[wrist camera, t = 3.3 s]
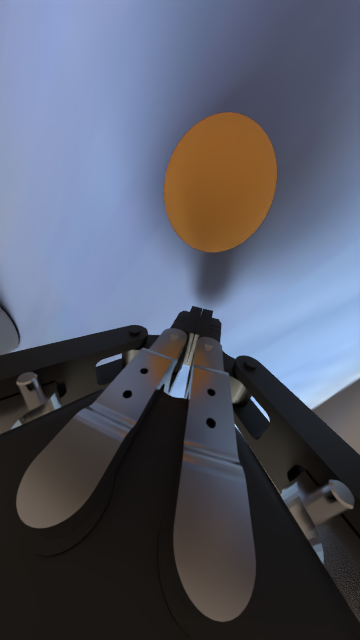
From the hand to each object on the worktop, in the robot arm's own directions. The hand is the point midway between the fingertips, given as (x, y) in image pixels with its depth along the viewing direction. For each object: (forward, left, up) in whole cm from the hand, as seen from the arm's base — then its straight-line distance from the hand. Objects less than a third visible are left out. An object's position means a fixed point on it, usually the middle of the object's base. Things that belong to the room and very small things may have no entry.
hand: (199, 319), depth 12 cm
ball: (+3, +6, +1) cm, 7 cm away
